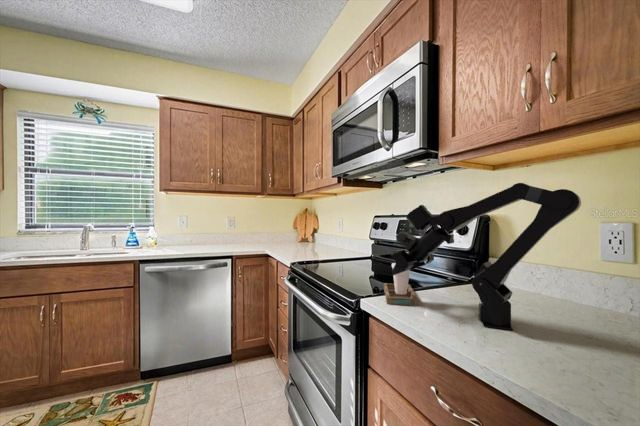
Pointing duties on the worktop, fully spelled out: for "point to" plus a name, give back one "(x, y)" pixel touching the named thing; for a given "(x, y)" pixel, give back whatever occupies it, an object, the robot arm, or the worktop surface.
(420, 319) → the worktop surface
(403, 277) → the smoothie
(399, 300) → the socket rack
